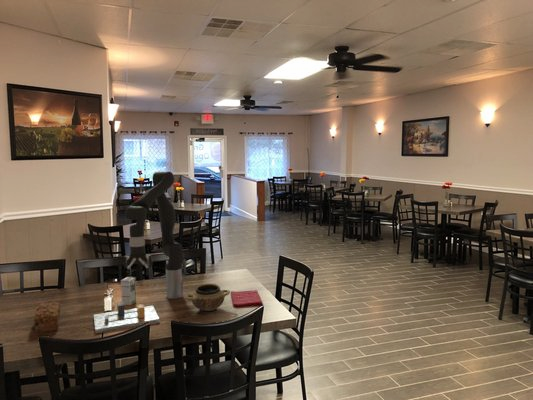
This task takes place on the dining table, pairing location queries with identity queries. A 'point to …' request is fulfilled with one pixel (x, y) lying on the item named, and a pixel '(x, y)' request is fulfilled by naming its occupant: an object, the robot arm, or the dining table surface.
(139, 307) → the fader knob
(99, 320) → the console panel
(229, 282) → the dining table surface
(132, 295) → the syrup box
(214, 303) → the ceramic bowl
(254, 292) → the dish towel
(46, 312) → the bread
